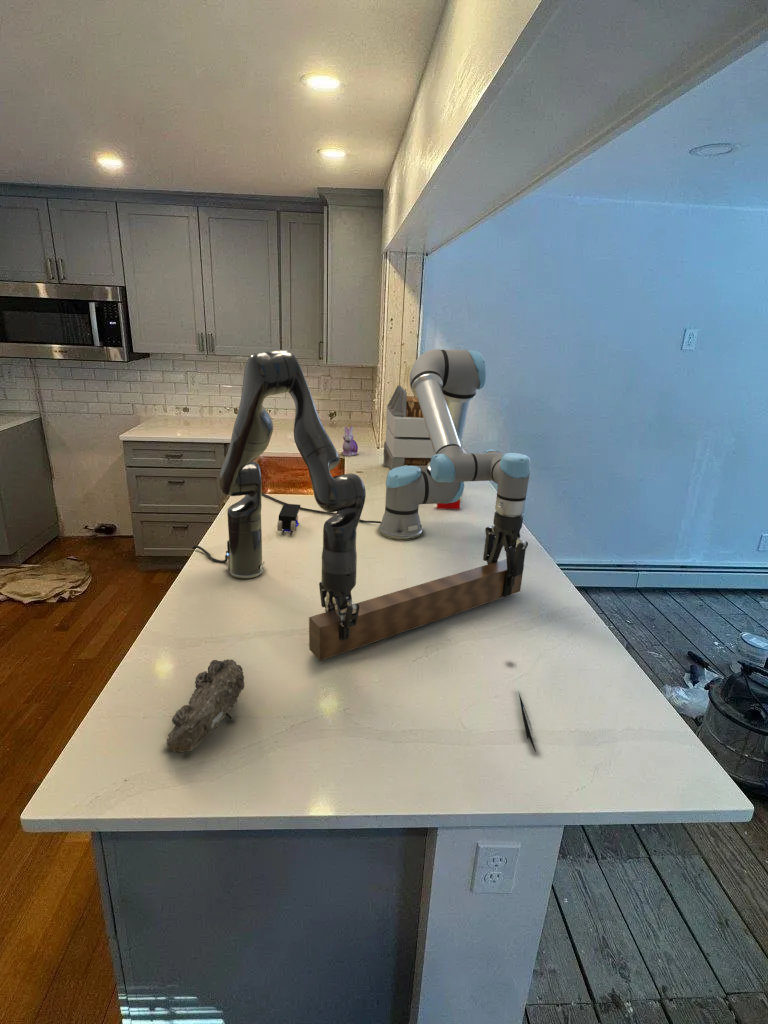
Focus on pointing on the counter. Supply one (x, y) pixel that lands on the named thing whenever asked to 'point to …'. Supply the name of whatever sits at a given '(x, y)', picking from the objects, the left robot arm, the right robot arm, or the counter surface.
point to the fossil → (206, 705)
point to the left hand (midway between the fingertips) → (337, 632)
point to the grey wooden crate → (406, 433)
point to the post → (409, 609)
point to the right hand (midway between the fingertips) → (498, 591)
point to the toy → (449, 505)
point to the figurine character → (288, 518)
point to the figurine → (349, 443)
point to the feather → (526, 723)
